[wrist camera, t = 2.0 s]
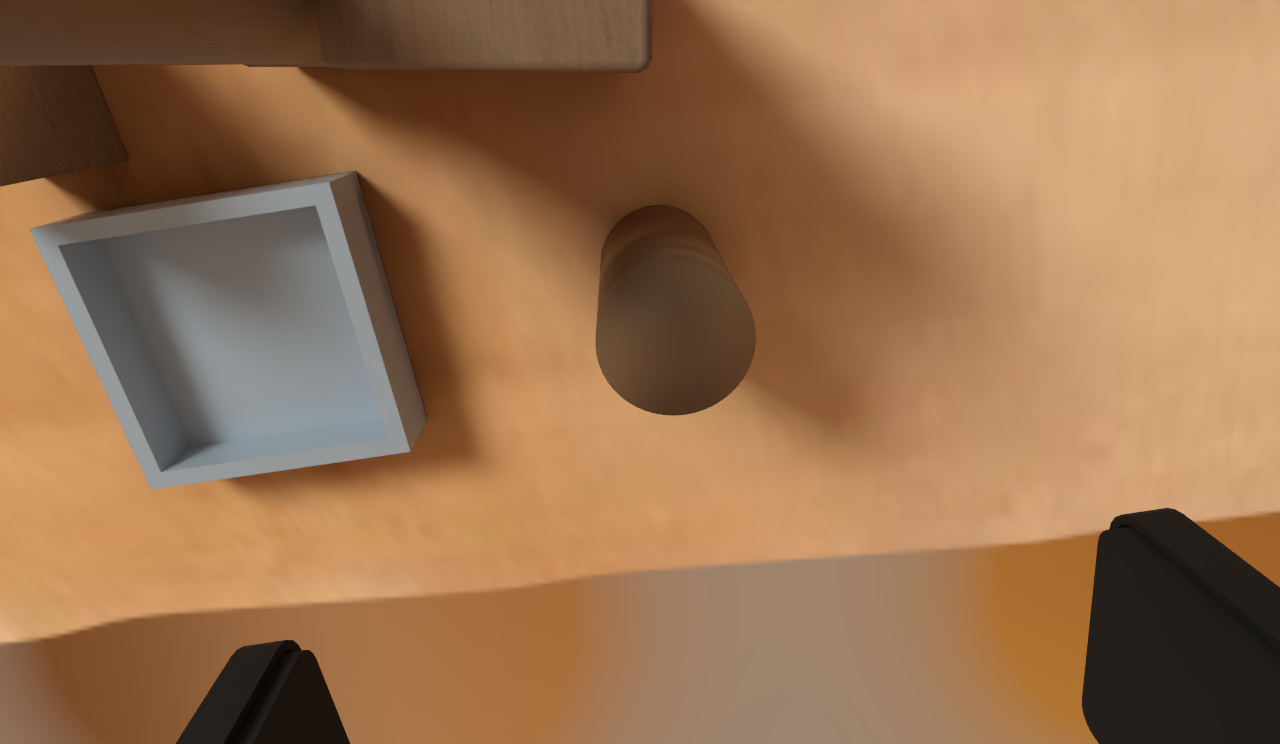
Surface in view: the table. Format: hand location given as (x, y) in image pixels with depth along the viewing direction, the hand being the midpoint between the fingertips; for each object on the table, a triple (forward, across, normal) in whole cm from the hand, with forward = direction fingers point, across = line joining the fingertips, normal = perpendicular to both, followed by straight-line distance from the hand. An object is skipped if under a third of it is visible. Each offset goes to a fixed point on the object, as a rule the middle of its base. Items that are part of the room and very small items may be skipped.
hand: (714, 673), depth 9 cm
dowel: (+19, -1, 0) cm, 19 cm away
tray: (+19, +13, 0) cm, 23 cm away
